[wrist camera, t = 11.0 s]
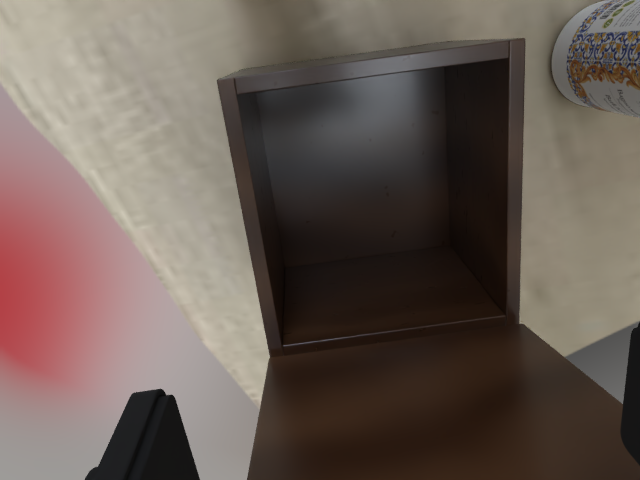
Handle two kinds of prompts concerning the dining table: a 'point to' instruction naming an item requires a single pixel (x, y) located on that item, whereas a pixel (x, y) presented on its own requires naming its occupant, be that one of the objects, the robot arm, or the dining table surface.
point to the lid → (438, 413)
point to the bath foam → (601, 57)
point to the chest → (381, 191)
